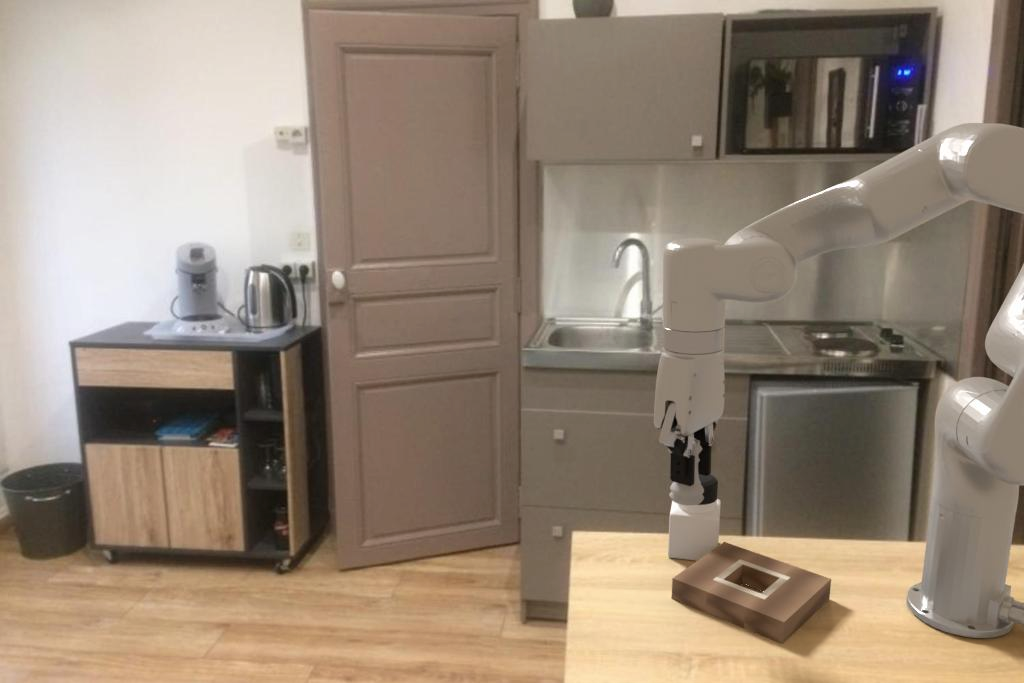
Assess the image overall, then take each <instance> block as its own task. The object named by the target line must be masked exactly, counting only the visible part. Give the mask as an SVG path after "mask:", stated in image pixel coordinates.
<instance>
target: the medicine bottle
mask: <svg viewBox="0 0 1024 683" xmlns="http://www.w3.org/2000/svg"><path fill="white" fill-rule="evenodd" d="M699 480H700V482H701V485H702V487H703V488H704V492H703V494H702V495H703V496H704V499H703V501H702V502H701V503H699V504H697V505H681V504H678V503H675V502H674V501H672V500H671V507H670V512H669V519H668V520H669V521H668V522H669V524H668V547H667V556H668V558H670V559H679V560H686V561H687V560H688V561H695V562H696V561H698V560H699V559H701V558H702V557H703V556H705V555H706V554H708V553H709V552H711V551H712V550H713V549H715V548H716V547H718V546H719V536H720V523H721V522H720V518H721V505H722V503H721V500H720V499H718V490H719V489H718V487H719V481H718V479H717V478H716V477H715V476H714V475H712V473H711V474H710V475H708V476H705V475H701V474H699Z"/></svg>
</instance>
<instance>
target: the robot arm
mask: <svg viewBox="0 0 1024 683" xmlns="http://www.w3.org/2000/svg"><path fill="white" fill-rule="evenodd" d="M969 201H974V202H979V203H983V204H987V205H990V206H995V207H998V208H1000V209H1004V210H1008V211H1012V212H1016V213H1019V214H1023V215H1024V127H1020V126H1015V125H1011V124H1006V123H995V122H994V123H989V122H986V123H985V122H983V123H982V122H978V123H977V122H967V123H961V124H957V125H954V126H952V127H949V128H947V129H945V130H943V131H941V132H939V133H937V134H935V135H933V136H931V137H929V138H927V139H925V140H923V141H921V142H920V143H918V144H915V145H914V146H912V147H910V148H908V149H906V150H904V151H902V152H900V153H899V154H897V155H895V156H893V157H891V158H889V159H887V160H885V161H884V162H881V163H880V164H878V165H876V166H874V167H872V168H870V169H869V170H866V171H864V172H862V173H861V174H858V175H856V176H854V177H853V178H850V179H848V180H845V181H844V182H841V183H838V184H835V185H833V186H830V187H828V188H826V189H824V190H822V191H820V192H818V193H815V194H812V195H810V196H807V197H805V198H802V199H800V200H798V201H795V202H793V203H790V204H788V205H786V206H784V207H782V208H779V209H778V210H775V211H774V212H772V213H770V214H767V215H766V216H764V217H763V218H760V219H758V220H757V221H755V222H753V223H751V224H749V225H747V226H745V227H743V228H742V229H740V230H739V231H737V232H735V233H734V234H733V235H731V236H730V237H729V238H728V239H727V240H726V242H725V243H724V244H723V243H722V242H721V241H719V240H717V239H712V238H703V237H701V238H700V237H691V238H689V237H688V238H687V237H686V238H680V239H674V240H672V241H670V242H669V243H667V244H666V246H665V248H664V249H663V250H664V251H663V255H662V256H663V257H662V258H663V259H662V263H663V264H662V341H661V342H662V343H661V344H662V346H661V347H662V348H661V350H662V353H661V354H660V356H659V362H658V367H657V374H656V380H655V381H656V382H655V393H654V406H653V408H654V409H653V410H654V411H653V412H654V413H653V414H654V415H653V424H654V425H653V426H654V428H655V429H657V430H660V434H659V438H658V442H659V443H660V444H662V445H664V446H666V447H667V451H668V453H669V454H670V471H669V472H670V473H669V474H670V476H669V477H670V478H669V479H670V480H671V482H672V483H674V482H677V483H680V484H684V485H687V486H692V485H693V484H694V477H695V456H694V455H691V454H692V446H693V438H695V439H697V440H699V441H700V446H701V447H702V451H701V452H700V453H699V455H698V457H699V459H700V461H699V462H698V473H699V474H701V475H705V476H708V475H710V474H711V475H712V473H711V472H712V445H713V444H714V441H715V438H714V437H715V436H714V431H715V430H716V427H717V424H718V421H719V420H720V418H721V417H722V415H724V409H725V398H726V397H725V396H726V395H725V394H726V393H725V392H726V390H725V388H726V386H725V385H726V381H725V379H726V378H725V362H724V361H725V360H724V353H725V330H726V326H725V325H726V304H727V303H726V302H727V301H726V300H730V301H734V302H735V301H737V302H744V303H752V304H770V303H773V302H778V301H779V300H782V299H783V298H784V297H786V296H787V295H788V294H790V293H791V291H792V290H793V289H794V287H795V286H796V283H797V280H798V274H799V268H798V264H800V263H803V262H805V261H806V260H810V259H812V258H814V257H817V256H819V255H822V254H825V253H830V252H833V251H838V250H840V249H841V250H843V249H850V248H853V249H854V248H864V247H871V246H875V245H880V244H883V243H887V242H890V241H891V240H894V239H896V238H898V237H899V236H901V235H904V234H905V233H907V232H909V231H911V230H913V229H914V228H917V227H919V226H920V225H922V224H925V223H927V222H928V221H931V220H933V219H935V218H938V216H940V215H942V214H944V213H947V212H948V211H950V210H952V209H954V208H956V207H958V206H961V205H962V204H965V203H967V202H969ZM984 347H985V352H986V355H987V356H988V358H989V360H990V361H991V362H992V363H993V364H994V365H995V366H997V368H998V369H1000V370H1001V371H1003V373H1005V374H1007V375H1009V376H1011V377H1012V380H1011V381H1010V384H1009V385H1007V384H1005V383H1004V382H1001V381H999V380H996V379H993V378H989V377H985V376H972V377H967V378H963V379H961V380H958V381H957V382H954V383H953V384H952V385H950V386H948V388H947V389H946V390H945V391H944V392H943V394H942V395H941V397H940V398H939V401H938V403H937V405H936V409H935V415H934V416H935V417H934V435H935V436H934V439H935V441H934V443H935V468H934V479H933V486H932V487H933V488H932V495H931V502H930V511H929V518H928V526H927V535H926V543H925V551H924V559H923V568H922V575H921V576H922V577H921V582H918V583H915V584H913V585H912V586H911V587H909V589H908V590H907V594H906V604H907V607H908V610H910V611H911V613H912V614H913V615H914V616H916V617H917V619H919V620H920V621H922V622H923V623H925V624H926V625H927V624H928V625H929V626H931V627H933V628H935V629H938V630H940V631H943V632H944V633H945V632H946V633H949V634H951V635H956V636H958V637H959V636H960V637H965V638H974V639H991V638H996V637H1001V636H1004V635H1006V634H1008V633H1009V632H1010V631H1011V630H1012V629H1013V627H1014V624H1015V623H1016V624H1018V625H1021V626H1023V627H1024V601H1023V602H1022V601H1020V600H1019V601H1018V600H1016V599H1015V597H1013V596H1011V590H1012V585H1008V584H1006V580H1007V575H1008V567H1009V562H1010V554H1011V547H1012V543H1013V542H1012V541H1013V535H1014V534H1013V533H1014V528H1015V522H1016V514H1017V511H1018V510H1017V509H1018V503H1019V494H1020V486H1024V263H1023V264H1022V266H1021V268H1020V271H1019V272H1018V275H1017V276H1016V278H1015V280H1014V282H1013V284H1012V285H1011V288H1009V291H1008V293H1007V295H1006V297H1005V299H1004V300H1003V303H1002V304H1001V306H1000V308H999V310H998V312H997V313H996V316H994V319H993V320H992V323H991V325H990V326H989V328H988V330H987V333H986V337H985V341H984ZM679 427H680V428H679ZM679 437H682V438H684V443H683V442H682V440H681V439H682V438H679Z"/></svg>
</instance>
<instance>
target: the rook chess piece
mask: <svg viewBox="0 0 1024 683" xmlns="http://www.w3.org/2000/svg"><path fill="white" fill-rule="evenodd" d="M680 439H681V440H682V442H683V443H684V441H685V437H682V438H680ZM701 451H702V447H701V446H700V441H699V440H697V439H695V438H693V446H692V454H691V455H694V456H695V477H694V484H693V485H692V486H687V485H684V484H680V483H677V482H672V483H671V485H670V487H669V489H670V491H671V492H669V494H668V495H669V497H670V499H671V502H672V501H674V502H675V503H678V504H681V505H697V504H699V503H701V502H702V501H703V499H704V496H703V495H702V494H703V492H704V488H703V487H702V485H701V482H700V480H699V473H698V462H699V461H700V459H699V457H698V455H699V453H700V452H701Z"/></svg>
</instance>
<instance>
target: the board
mask: <svg viewBox="0 0 1024 683" xmlns="http://www.w3.org/2000/svg"><path fill="white" fill-rule="evenodd" d="M671 579H672V580H671V581H672V582H671V583H672V584H671V600H672V599H673V600H675V601H678V602H680V603H683V604H685V605H687V606H689V607H692V608H695V609H697V610H700V611H702V612H705V613H706V612H707V614H709V615H711V616H714V617H717V618H718V619H721V620H724V621H726V622H728V623H731V624H733V625H735V626H738V627H741V628H743V629H746V630H748V631H749V632H753V633H756V634H757V635H761V636H763V637H765V638H767V639H770V640H773V641H775V642H777V643H780V644H782V645H783V644H784V643H785V642H786V641H787V640H788V639H789V638H790V637H791V636H793V635H794V633H795V632H796V631H798V630H799V628H801V627H802V626H803V625H804V624H805V623H806V622H807V621H808V620H809V619H810V618H811V617H812V616H813V615H814V614H816V613H817V611H819V610H820V608H822V607H823V606H824V605H825V604H826V603H827V602H828V601H829V600H830V596H831V585H832V578H830V577H827V576H825V575H821V574H818V573H815V572H813V571H810V570H807V569H804V568H801V567H798V566H795V565H792V564H789V563H786V562H784V561H780V560H779V559H778V560H777V559H775V558H772V557H769V556H766V555H764V554H761V553H758V552H755V551H752V550H749V549H747V548H744V547H740V546H737V545H735V544H731V543H729V542H726V541H723V542H722V543H721V544H718V547H716V548H715V549H713V550H712V551H711V552H709V553H708V554H706V555H705V556H703V557H702V558H701V559H699V560H698V561H695V562H694V563H692V564H690V565H689V566H687V568H685V569H684V570H682V571H680V572H679V573H678V574H676V575H675V576H674V577H672V578H671ZM741 583H743V584H741ZM740 584H741V585H740ZM744 584H747V585H749V586H751V587H750V588H752V587H754V588H757V589H759V590H758V591H760V590H761V591H760V592H761V593H760V592H758V591H754V590H752V589H749V588H748V587H749V586H748V587H744V586H742V585H744ZM739 585H740V586H739ZM754 588H753V589H754ZM757 589H756V590H757ZM762 591H764V592H762Z"/></svg>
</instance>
